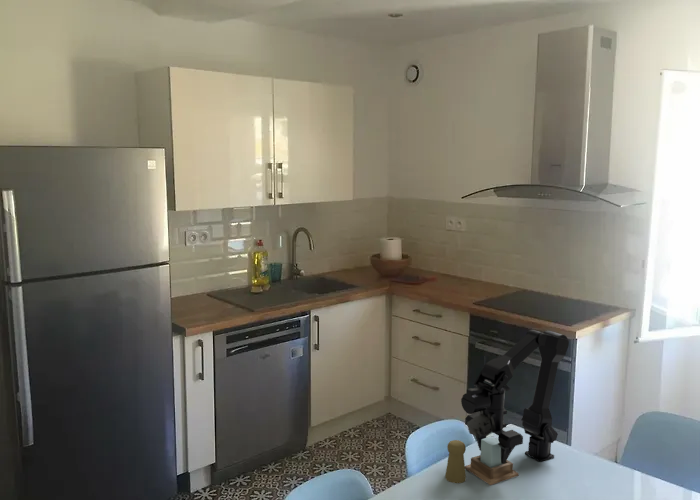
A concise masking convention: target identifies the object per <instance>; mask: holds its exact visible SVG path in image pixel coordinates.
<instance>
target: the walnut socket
mask: <svg viewBox="0 0 700 500" xmlns="http://www.w3.org/2000/svg"><path fill="white" fill-rule="evenodd" d="M480 460H481V454H480V455H477V456H474V457H471V458H470V464H467V465H465V471H466V470H467V471H468V472H469V473H471V474H472V475H474V476H476V477H477V478H479V479H480V480H482V481H483V482H485V483H486V484H488V485H489V486H492V485H495V484H498V483H501V482H504V481H506V480H507V481H508V480H510V479H513V478H517V477H519V472H518V471H516V470H514V463H513V462H512V461H510V460H508V459H507V460H506V462H505V463H504V464H502V465H499V466H496V467H493V468H490V467H489V466H487V465H485V464H484V463H482V462H480Z"/></svg>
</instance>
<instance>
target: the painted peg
mask: <svg viewBox="0 0 700 500" xmlns="http://www.w3.org/2000/svg"><path fill="white" fill-rule="evenodd" d="M498 443H499V441H498V438H497V437H495V436H489V437H486V438H484V439H481V451H480V455H481V460H480V462H482V463H484V464H485V465H487V466H489V467H490V468H493V467H496V466H499V465H502V463H501V447H500V446H499V445H498Z"/></svg>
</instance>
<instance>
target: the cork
mask: <svg viewBox="0 0 700 500" xmlns="http://www.w3.org/2000/svg"><path fill="white" fill-rule="evenodd" d="M446 448H447V452H448V457H447V458H448V459H447V463H446V470H445V476H444V479H445V480H446V481H447V482H449V483H453V484H462V483H465V482H466V480H467V475H466V469H465V466H466V465H465V456H464V455H465V453H466V449H467V448H466V444H465V443H464V442H463V441H462V440H458V439H453V440H451V441H450V440H449V442H448V443H447V446H446Z"/></svg>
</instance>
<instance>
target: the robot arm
mask: <svg viewBox="0 0 700 500" xmlns="http://www.w3.org/2000/svg"><path fill="white" fill-rule="evenodd" d="M569 346H570V341H569V339H568V337H567V336H566V335H565V334H561V333H558V332H554V331H551V330H544V332H541V331H538V330H535V329H529V330H528V331H527V332H526V334H525V335H524V336H523V337H522V338H521V339H519V341H518V342H517V343H516V344H514V345H513V346H512V347H511V348H509V350H508V351H506V352H505V353H504V354H502V355H501V356H499V357H495V358H492V359H491V360H489V361H486V363H484V365H483V366H482V368H481V370H480V372H479V374H478V376H477V377H476V379H475V381H474V383H473V386H474V388H471V387H470V388H467V389H466V393H464V394H463V395H462V397H461V399H460V402H461V403H460V404H461V407H462V409H463V410H464V412H465V413H467V414H468V415H467V416H465V419H464V425H466V426H467V429H468V432H469V434H470V435H473V436H474V437H475V439H476V442H477V446H478V449H479V451H480V452H481V439H484V438H487V436H488V435H490V434H491V433H493V434H495V435H496V436H498V438H497V439H498V441H499V443H498V445H499V446H500V447H501V463H502V464H504V463H505V462H506V460H508V458H509V456H510V455H511V453H512V452H513V451H514V449H515V447H517V446H519V445H523V444H524V443H523V442H524V436H523V435H522V434H521V433H520V432H517V431H515V430H514V429H510V430H507V431H506V430H504V429H505V428H507V423H505V422H504V418H505V417H504V415H507V414H508V410H507V409H505V393H506V392H507V391H510V390H511V387H510V386H509V385H507V384H508V383H509V381H510V380H511V379H512V378H513V377H514V372H515V370H516V368H517V367H518V366H519V365H520V364H522V362H524V361H525V360H526V359H527V358H528V357H529V356H530V355H532V354H533V353H534V351H536V350H537V349H538V350H539V351H538V352H539V356H540V358H541V360H540V365H539V371H538V375H537V380H536V385H535V390H534V395H533V398H532V399H533V400H532V403H531V405H529V406H528V408H526V407H525V408H524V409H523V413H522V414H523V415H522V418H520V419H521V421H522V423H521V424H522V427H523V429H524V433H525V434H526V435H529V441H528V448H527V450H526V451H524V453H525V455H527V456H529V457H530V458H532V459H534V460H536V461H537V462H544V461H546V460H550V459H553V458H555V455H554V454H552V453H551V451H552V449H551V448H552V447H551V446H552V444H553V443H554V442H555V441H556V440H557V438H558V435H559V434H558V432H557V431H556V430H555V429H554V428H553V426H552V423H553V417H552V414H551V410H550V405H551V400H552V395H553V391H554V385H555V380H556V376H557V370H558V366H559V363H560V362H561V361H562V360H563V359H564V358H565V356H566V354H567V351H568V348H569ZM488 383H489V384H488ZM491 384H492V385H491Z"/></svg>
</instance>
